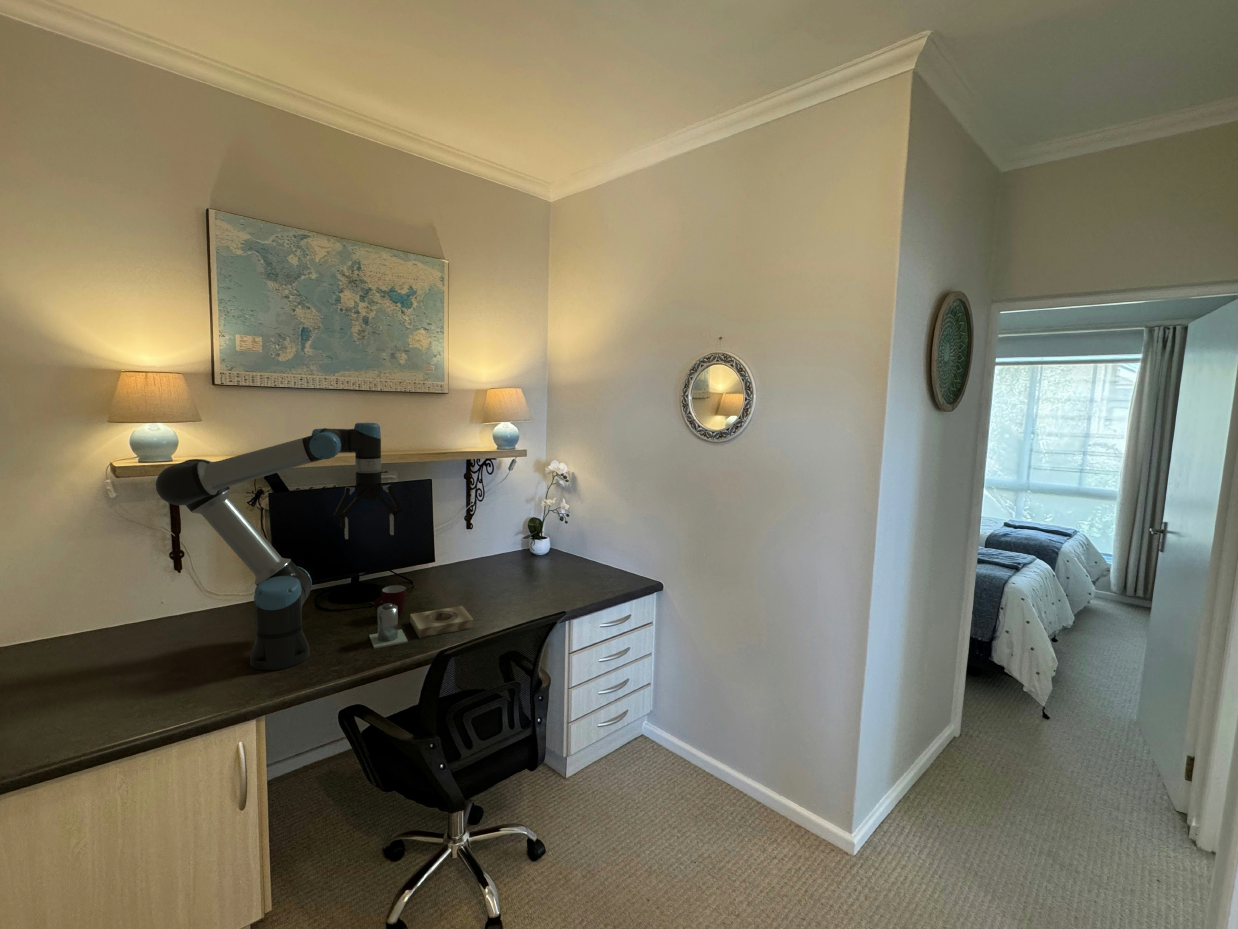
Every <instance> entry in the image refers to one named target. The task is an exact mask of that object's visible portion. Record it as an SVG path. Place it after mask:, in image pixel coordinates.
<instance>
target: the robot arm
mask: <svg viewBox="0 0 1238 929" xmlns="http://www.w3.org/2000/svg"><path fill="white" fill-rule="evenodd" d="M353 427H354V428H326V427H324V428H315V429H313V430H312V432H311V435H309V436H305V437H301V438H297V439H294V440H290V441H287V442H282V443H278V444H275V445H271V446H268V447H264V448H261V449H257V450H254V451H250V452H247V453H242V454H239V455H236V456H232V457H228V458H225V459H221V460H218V461H217V460H216V461H214V462H213V461H211V460H208V459H202V458H192V459H185V461H182V462H179V463H176V464H173V465H171V466H170V465H169V466H168V467H166V468H165V469H162V471H161V472H160V473H159V475H158V476H157V478H156V480H155V491H156V492H157V493H156V494H158V496H159V497H160V498H161V499H162V500H163V501H165V503H168V504H171V505H174V506H185V507H186V508H187V509H188V510H189V511H190V512H191V513H192V514H200V515H201V516H202V517H203V518H204V519H205V520H206V521H207V522H208V524H209V525H210V526H211V527H212V528H213V529H214V530H215V531H216V533H217V534H218V535H219V536H220V537H221V538H222V539H223V541H224V542H225V543H226V544H227V545H228V546H229V547H230V549H231V550H232V551H233V552H234V553H235V554H236V555H237V557H238V558H239V559H240V560H241V561H242V563H244V564H245V565H246V567H247V568H248V569H249V570H250V571H251V573H253V574H254V576H255V580H254V584H255V586H256V587H255V588H254V595H253V601H254V610H255V611H254V615H255V632H256V634H255V636H256V638H255V641H254V643H253V647H252V650H251V653H250V655H249V656H250V657H249V661H250V662H249V663H250V666H251V667H252V668H253V669H255V670H259V671H277V670H284V669H287V668H290V667H294V666H296V665H299V664H301V663H303V662H304V661H306V660H307V659H308V658H309V657H310V655H311V654H310V651H311V650H310V645H309V642H308V640H307V638H306V635H305V634H304V631H303V612H302V609H303V608H302V607H303V605H304V604H305V602H306V600H307V599H308V598H309V596H310V594H311V591H312V586H313V585H312V584H313V582H312V581H313V580H312V578H311V577H312V576H311V575H310V573H309V572H308V571H307V570H306V569H304V568H303V567H300V566H297V565H296V564H295V563H294V562H293V561H292V559H291V558H286V557H285V558H284V557H282V556H281V555H280V553H278V551H277V550H276V549H275V548H274V546H273V545H272V544H271V543H270V542H269V541H268V540H267V538H266V537H265V536H264V535H263V534H262V533H261V532H260V530H259V529H258V528H257V526H255V524H254V523H253V522H252V521H251V520H250V518H249V517H248V516H247V515H246V513H244V512H243V510H242V509H241V507H239V505H238V504H236V502H235V501H234V500H233V499H232V497H231V493H232V489H231V487H232V486H235V485H238V484H243V483H246V482H249V481H253V480H256V479H259V478H263V477H266V476H270V475H274V474H277V473H281V472H284V471H286V470H291V469H295V468H297V467H300V466H301V467H302V466H304V465H308V464H311V463H315V462H319V461H323V460H329V459H333V458H335V457H336V456H337V455H338V454H339V453H340V454H341V453H343V454H346V453H349V454H350V453H351V454H352V453H354V455H355V457H354V458H355V462H354V463H355V470H356V472H355V486H354V487H352V486H351V487H350V486H345V487H344V492H343V493H344V494H343V495H342V497H341V498H340V501H339V503H338V505H337V507H336V509H335V511H334V512H333V515H334V517H335V518H339V519H340V528H341V529H344V539H345V540H349V518H348V515H349V514H350V512H352V510H354V508H355V507H356V506H357V505H358V504H359V503H360V502H361V501H365V502H366V501H369V500H370V501H375V500H376V499H378V500H379V502H381V503H382V504H383V505H384V506H385V508H386V509H387V510H389V512H391V513H389V534H390V535H391V536H394V534H395V530H394V529H395V526H394V525H397V524H398V514H401V513H403V512H404V511H403V508H402V506H401V504H400V502H399V501H398V498H396V496H395V494H394V491H393V486H392V485H391V484H387V485H382V472H381V470H382V437H381V426H380V425H379V423H376V422H356V423H355V424H354V426H353ZM383 491H385V492H386V493H387V494H388V495H389V497H390V499H391V501H392V503H393V505H394V506H395V508H396V509H395V508H394V507H393V506H392V505H391V504H390V503H389V502H388V501H387V500H386V499H385V498H384V497H383V496H382V495H381V494H382V492H383ZM353 492H354V493H355V494H356V496H355V497H354V499H353V500H351V502H350V503H349V504H348V505H347V507H346V508H345V509H344V507H345V505H346V503H347V501H348V499H349V498H350V495H352V494H353ZM343 509H344V510H343Z"/></svg>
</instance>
